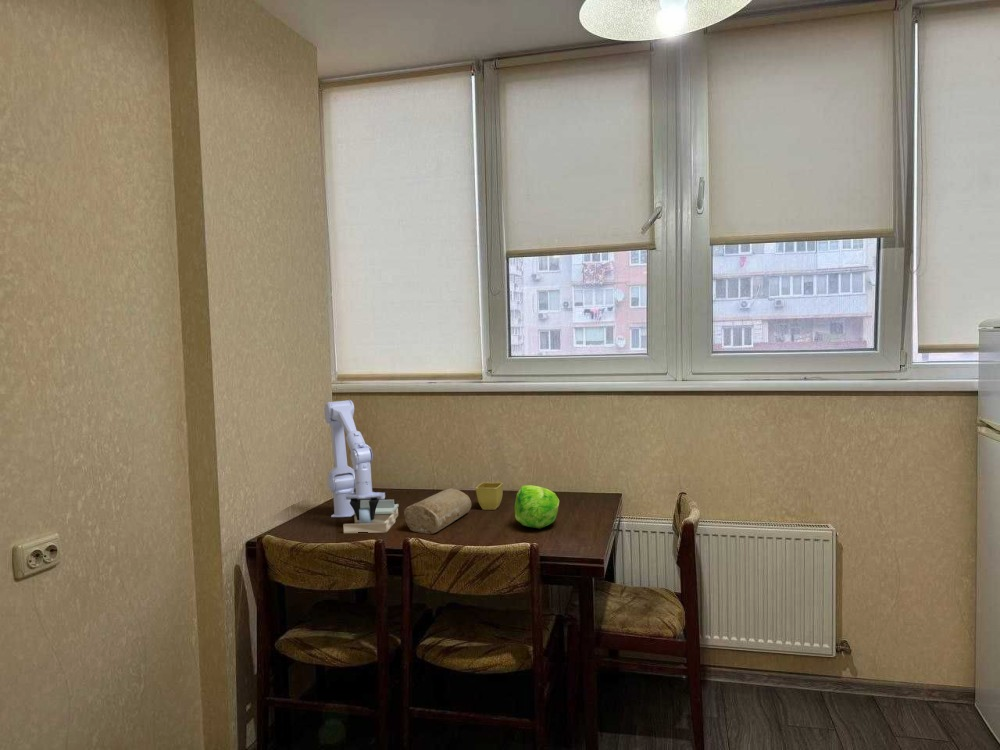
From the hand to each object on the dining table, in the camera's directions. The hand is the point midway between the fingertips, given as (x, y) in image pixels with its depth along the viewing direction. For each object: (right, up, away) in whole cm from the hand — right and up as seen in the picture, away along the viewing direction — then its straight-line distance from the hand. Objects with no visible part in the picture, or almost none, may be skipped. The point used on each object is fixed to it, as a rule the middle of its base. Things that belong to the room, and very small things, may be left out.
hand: (365, 519), depth 234 cm
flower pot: (+44, 0, +17) cm, 47 cm away
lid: (+2, +1, +10) cm, 10 cm away
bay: (+2, -3, +4) cm, 5 cm away
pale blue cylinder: (0, -2, 0) cm, 2 cm away
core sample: (+26, -2, +1) cm, 26 cm away
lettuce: (+61, -1, -8) cm, 61 cm away
